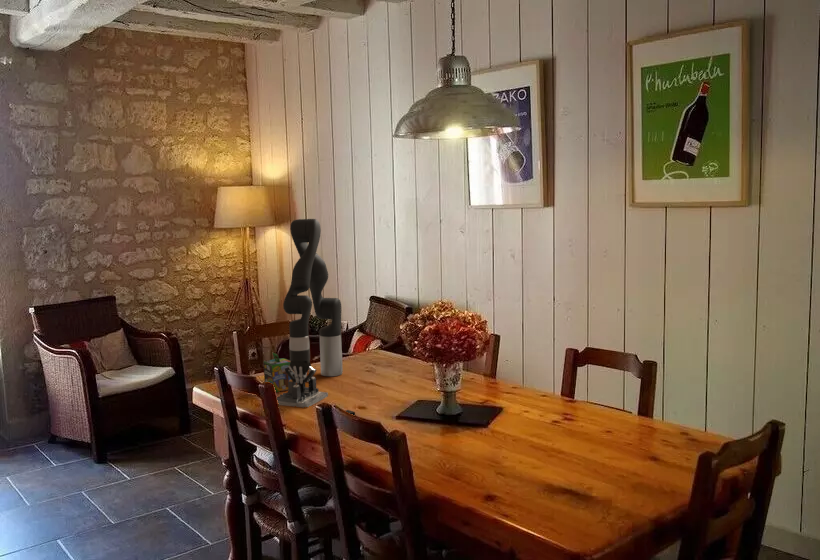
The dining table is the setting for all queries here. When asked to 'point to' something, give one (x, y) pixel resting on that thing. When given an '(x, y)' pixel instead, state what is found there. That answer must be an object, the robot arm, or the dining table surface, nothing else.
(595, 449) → the dining table surface
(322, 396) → the grey pegged base plate
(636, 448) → the dining table surface
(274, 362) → the chalk box
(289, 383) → the breaker
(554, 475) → the dining table surface
